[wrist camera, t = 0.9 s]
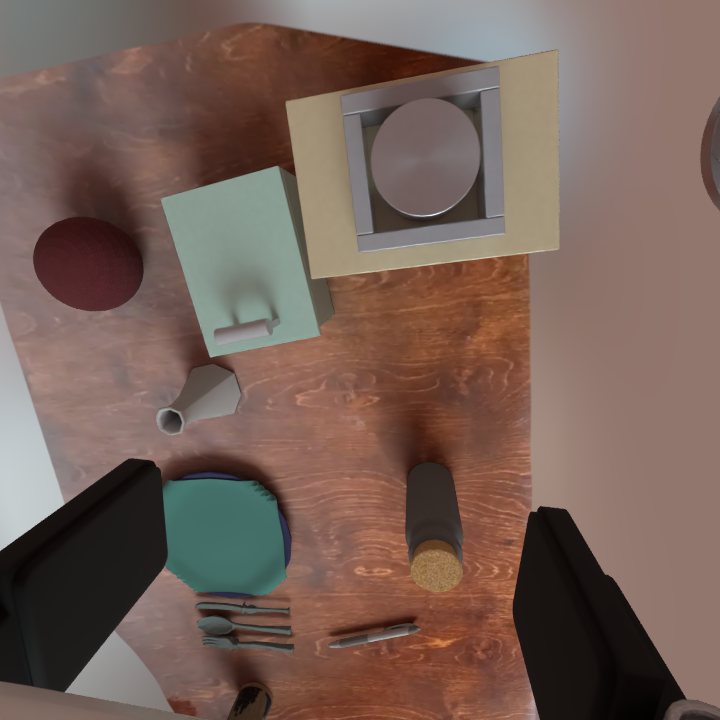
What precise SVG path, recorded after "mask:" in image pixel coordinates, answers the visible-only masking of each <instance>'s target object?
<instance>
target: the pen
mask: <svg viewBox="0 0 720 720" xmlns="http://www.w3.org/2000/svg"><path fill="white" fill-rule="evenodd" d="M399 626H403V627H402V628H396V629H391V630H388V629H390V628H394V627H399ZM418 630H420V627H417V626H415V625H414V624H411V623H405V624H399V625H395V626H392V627H389V628H386V629H384V630H383V631H382V632H378V633H372V634H366V635H360V636H355V637H350V638H345V639H340V640H337V641H334V642H331V643H330V644H329V645H328V646H329V647H330V648H340V647H341V648H342V647H347V646H352V645H358V644H363V643H368V642H372V641H377V640H382V639H388V638H393V637H398V636H404V635H409V634H413V633H416V632H418Z"/></svg>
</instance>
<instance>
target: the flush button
mask: <svg viewBox="0 0 720 720" xmlns="http://www.w3.org/2000/svg"><path fill="white" fill-rule="evenodd" d="M480 156H481V150H480V142H479V138H478V134H477V132H476V129H475V127H474V125H473V123H472V122H471V120H470V119H469V118H468V116H467V115H466V114H465V113H464V112H463V111H462V110H461V109H459V108H458V107H457V106H455V105H453V104H451V103H450V102H447V101H444V100H440V99H435V98H424V99H418V100H414V101H411V102H409V103H406V104H404V105H403V106H401V107H399V108H398V109H396V110H395V111H394V112H393V113H392V114H391V115H390V116H389V117H388V118H387V119H386V120H385V121H384V123H383V124H382V125H381V127H380V129H379V130H378V132H377V135H376V137H375V139H374V143H373V146H372V151H371V171H372V177H373V180H374V183H375V185H376V188H377V190H378V191H379V193H380V195H381V196H382V198H383V200H384V201H385V203H386V204H387V205H388V206H389V207H390V208H391V209H392V210H393V211H394V212H396V213H397V214H399V215H401V216H403V217H405V218H408V219H412V220H420V221H423V220H431V219H435V218H438V217H440V216H442V215H444V214H446V213H448V212H449V211H451V210H452V209H453V208H454V207H455V206H456V205H457V204H458V203H459V202H460V201H461V200H462V199H463V198H464V197H465V195H466V194H467V193H468V191H469V190H470V189H471V187H472V185H473V183H474V181H475V179H476V176H477V174H478V170H479V166H480Z"/></svg>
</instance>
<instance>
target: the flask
mask: <svg viewBox="0 0 720 720" xmlns="http://www.w3.org/2000/svg"><path fill="white" fill-rule="evenodd" d="M240 396H241V393H240V390H239V387H238V384H237V380H236V377H235V374H234V373H233V372H230V371H228V370H226V369H224V368H222V367H219V366H217V365H215V364H210V365H205V366H201V367H196V368H193V369H192V371H191V373H190V375H189V377H188V379H187V382H186V384H185V386H184V388H183V389H182V391H181V393H180V395H179V397H178V398H177V399H176V400H175V401H174V402H173V404H172V405H170V406H168V407H164V408H160V409H159V410H158V413H157V417H156V422H157V424H158V427H159V430H160V431H162V432H164V433H167V434H169V435H175V434H180V433H183V431H184V428H185V426H187V425H188V424H190V423H192V422H195V421H197V420H199V419H207V418H214V417H219V416H224V415H230V414H234V412H235V410H236V407H237V404H238V401H239V399H240Z"/></svg>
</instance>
